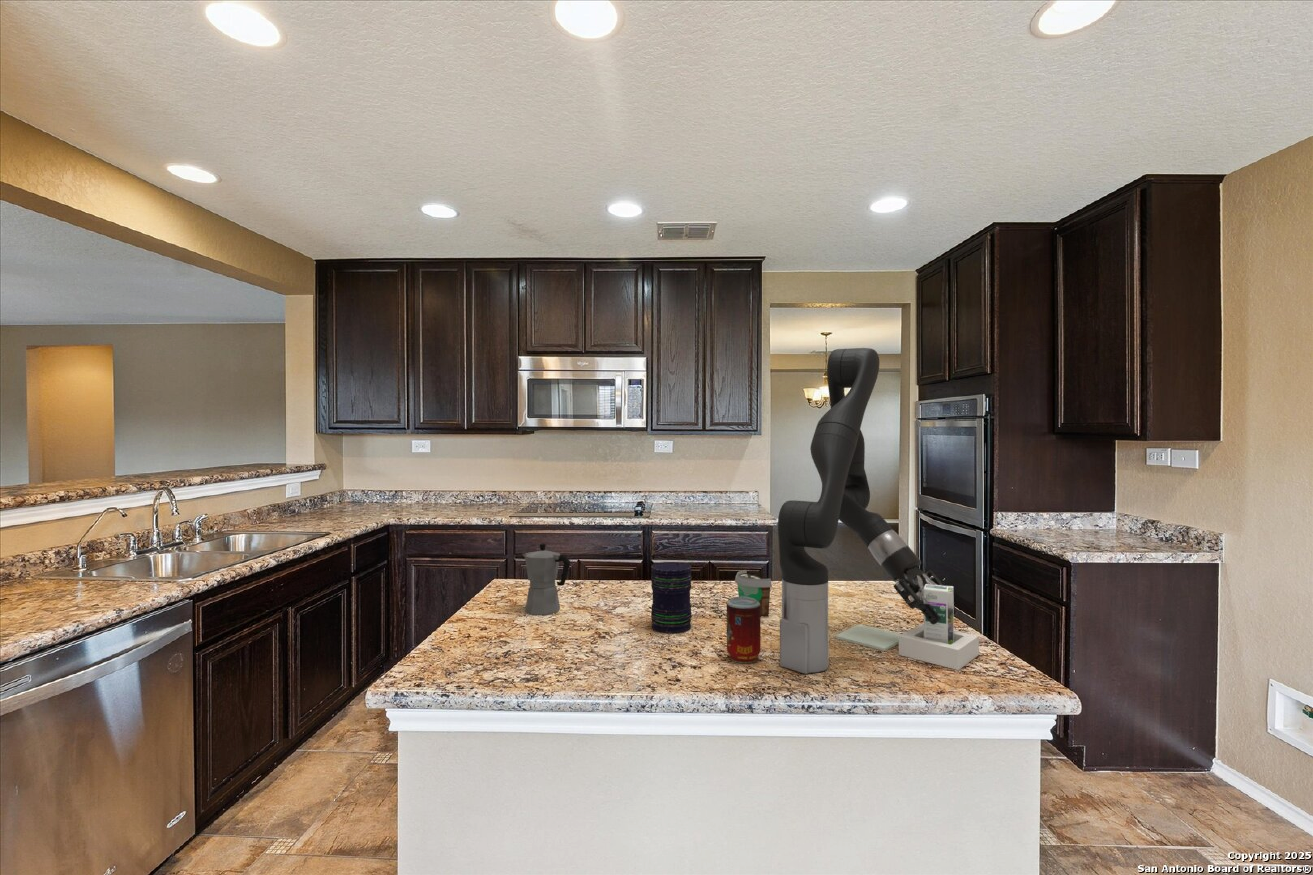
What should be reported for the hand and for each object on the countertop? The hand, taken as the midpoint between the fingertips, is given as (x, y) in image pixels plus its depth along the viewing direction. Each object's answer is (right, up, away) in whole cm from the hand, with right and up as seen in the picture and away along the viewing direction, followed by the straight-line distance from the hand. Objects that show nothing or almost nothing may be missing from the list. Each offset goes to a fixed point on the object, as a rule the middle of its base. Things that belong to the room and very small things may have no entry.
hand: (945, 618), depth 127 cm
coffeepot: (-90, -8, +34) cm, 97 cm away
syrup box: (-1, -8, +1) cm, 8 cm away
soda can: (-43, -8, -1) cm, 44 cm away
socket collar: (-1, -8, +1) cm, 8 cm away
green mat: (-11, -8, +12) cm, 18 cm away
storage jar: (-57, -8, +20) cm, 61 cm away
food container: (-37, -8, +32) cm, 49 cm away
